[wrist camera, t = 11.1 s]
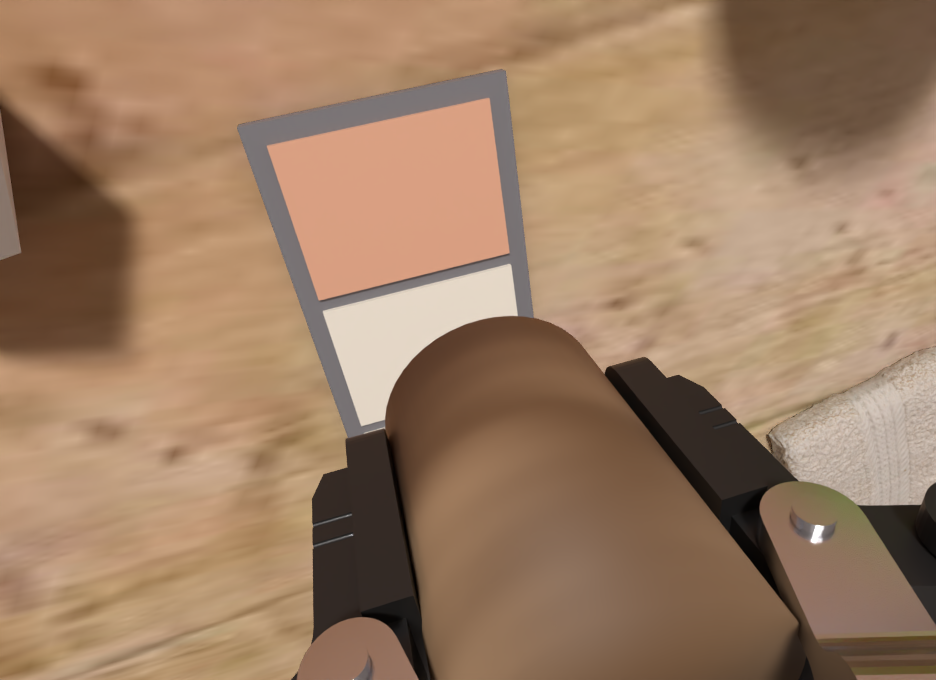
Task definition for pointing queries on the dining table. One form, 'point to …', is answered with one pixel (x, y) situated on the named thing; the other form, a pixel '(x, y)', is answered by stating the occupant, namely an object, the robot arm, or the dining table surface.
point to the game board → (394, 225)
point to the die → (7, 206)
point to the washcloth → (869, 436)
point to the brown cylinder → (564, 525)
